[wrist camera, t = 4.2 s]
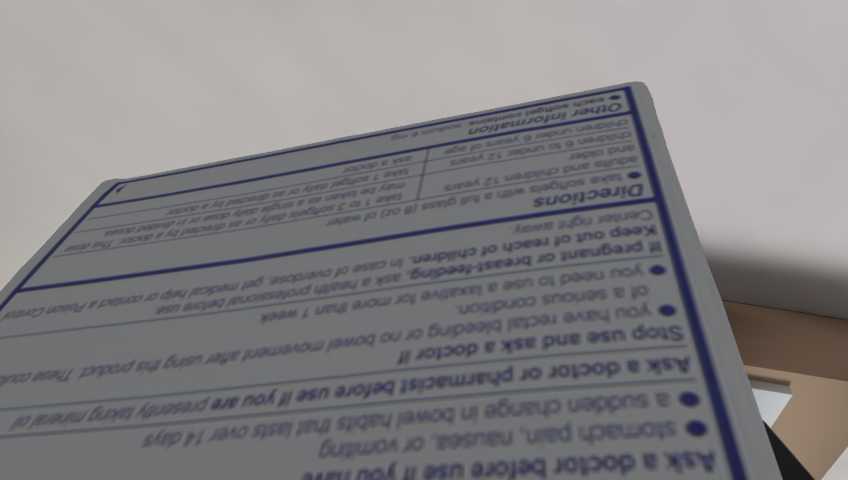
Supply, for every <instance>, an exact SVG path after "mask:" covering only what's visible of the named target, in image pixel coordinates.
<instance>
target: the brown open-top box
mask: <svg viewBox="0 0 848 480" xmlns="http://www.w3.org/2000/svg"><path fill="white" fill-rule="evenodd" d="M722 303H723V306H724V309H725V312H726V315H727V318H728V321H729V323H730V326H731V329H732V332H733V335H734V338H735V341H736V344H737V347H738V350H739V353H740V356H741V359H742V362H743V365H744V367H745V370H746V373H747V376H748V379H749V382H750V385H751V388H752V391H753V394H754V397H755V400H756V403H757V406H758V409H759V411H760V414H761V417H762V420H763V421H765V422H766V423H767V424H768V426H769V427H770V428H771V429H772V430H773V431H774V432H775V434H776V435H777V436H778V437H779V438H780V439H781V441H782V442H783V443H784V444H785V445H786V446H787V447H788V449H789V450H790V451H791V452H792V453H793V454H794V456H795V457H796V458H797V459H798V460H799V461H800V462H801V464H802V465H803V466H804V467H805V468H806V469H807V471H808V472H809V473H810V474H811V475H812V476H813V477H814V479H815V480H821V479H822V478H823V476H824V475H825V474H826V473H827V471H828V470H829V469H830V468H831V466H832V465H833V464H834V463H835V461H836V460H837V459H838V458H839V457H840V455H841V454H842V453H843V452H844V450H845V449H846V448H847V447H848V320H842V319H836V318H830V317H823V316H817V315H811V314H804V313H798V312H792V311H785V310H779V309H773V308H766V307H760V306H754V305H747V304H741V303H735V302H728V301H722Z"/></svg>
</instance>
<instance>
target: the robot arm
mask: <svg viewBox="0 0 848 480" xmlns="http://www.w3.org/2000/svg"><path fill="white" fill-rule="evenodd" d="M763 423H764V426H765V429H766V432H767V435H768V438H769V441H770V444H771V447H772V450H773V453H774V455H775V458H776V461H777V464H778V467H779V470H780V473H781V476H782V479H783V480H815V479H814V477H813V476H812V475H811V474H810V473H809V472H808V471H807V469H806V468H805V467H804V466H803V465H802V464H801V462H800V461H799V460H798V459H797V458H796V457H795V456H794V454H793V453H792V452H791V451H790V450H789V449H788V447H787V446H786V445H785V444H784V443H783V442H782V441H781V439H780V438H779V437H778V436H777V435H776V434H775V432H774V431H773V430H772V429H771V428H770V427H769V426H768V424H767V423H766V422H765V421H763Z"/></svg>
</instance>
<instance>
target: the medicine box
mask: <svg viewBox="0 0 848 480" xmlns="http://www.w3.org/2000/svg"><path fill="white" fill-rule="evenodd" d="M0 480H783V479H782V476H781V473H780V470H779V467H778V464H777V461H776V458H775V455H774V453H773V450H772V447H771V444H770V441H769V438H768V435H767V432H766V429H765V426H764V423H763V420H762V417H761V414H760V411H759V409H758V406H757V403H756V400H755V397H754V394H753V391H752V388H751V385H750V382H749V379H748V376H747V373H746V370H745V367H744V365H743V362H742V359H741V356H740V353H739V350H738V347H737V344H736V341H735V338H734V335H733V332H732V329H731V326H730V323H729V321H728V318H727V315H726V312H725V309H724V306H723V303H722V300H721V297H720V294H719V292H718V289H717V286H716V284H715V281H714V278H713V276H712V273H711V271H710V268H709V265H708V263H707V260H706V257H705V254H704V252H703V249H702V246H701V243H700V240H699V237H698V235H697V232H696V229H695V226H694V223H693V221H692V218H691V215H690V212H689V209H688V206H687V204H686V201H685V198H684V195H683V192H682V189H681V186H680V183H679V181H678V178H677V175H676V172H675V169H674V166H673V163H672V160H671V157H670V154H669V152H668V149H667V146H666V142H665V139H664V135H663V132H662V129H661V126H660V123H659V120H658V118H657V114H656V110H655V107H654V103H653V99H652V97H651V94H650V92H649V90H648V88H647V86H646V85H645V84H644V83H643V82H628V83H623V84H618V85H613V86H608V87H603V88H598V89H593V90H588V91H583V92H578V93H573V94H568V95H562V96H557V97H552V98H547V99H542V100H537V101H532V102H526V103H521V104H516V105H511V106H506V107H500V108H495V109H490V110H485V111H479V112H474V113H469V114H463V115H458V116H453V117H447V118H442V119H437V120H432V121H426V122H421V123H416V124H411V125H406V126H401V127H396V128H391V129H386V130H381V131H376V132H370V133H365V134H359V135H353V136H347V137H342V138H337V139H333V140H328V141H323V142H317V143H312V144H307V145H302V146H297V147H292V148H287V149H282V150H277V151H272V152H266V153H261V154H255V155H250V156H244V157H239V158H234V159H228V160H223V161H218V162H213V163H208V164H203V165H197V166H192V167H187V168H182V169H177V170H172V171H166V172H161V173H156V174H151V175H146V176H140V177H134V178H128V179H112V180H107V181H105V182H103V183H101V184H100V185H99V186H98V187H97V188H96V189H95V190H94V192H93V193H92V194H91V195H90V196H89V197H88V198H87V199H86V200H85V201H84V202H83V203H82V204H81V205H80V206H79V207H78V208H77V209H76V210H75V212H74V213H73V214H72V215H71V216H70V217H69V218H68V219H67V220H66V221H65V222H64V223H63V224H62V225H61V226H60V227H59V229H58V230H57V231H56V232H55V233H54V234H53V235H52V236H51V238H50V239H49V240H48V241H47V242H46V243H45V244H44V245H43V246H42V247H41V248H40V249H39V250H38V251H37V252H36V254H35V255H34V256H33V257H32V258H31V259H30V260H29V261H28V262H27V263H26V264H25V265H24V266H23V267H22V268H21V269H20V270H19V271H18V272H17V273H16V274H15V276H14V277H13V278H12V279H11V280H10V281H9V283H8V284H7V285H6V286H5V287H4V288H3V289H2V290H1V291H0Z"/></svg>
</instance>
